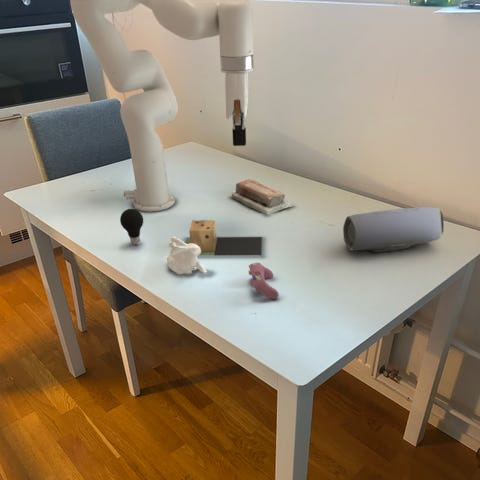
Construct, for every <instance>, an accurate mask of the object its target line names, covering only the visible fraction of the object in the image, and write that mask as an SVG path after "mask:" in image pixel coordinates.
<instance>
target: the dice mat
mask: <svg viewBox="0 0 480 480" xmlns="http://www.w3.org/2000/svg"><path fill="white" fill-rule="evenodd" d="M216 237H217V242H216V248H215V252H201V253H200V254H199V255H197V257H199V256H200V257H204V256H205V257H206V256H207V257H209V256H213V257H214V256H215V257H216V256H217V257H218V256H225V257H226V256H227V257H228V256H262V250H263V249H262V248H263V237H262V236H236V237H235V236H216ZM185 243H186V244H190V243H191V242H190V237H187V238H186V242H185Z"/></svg>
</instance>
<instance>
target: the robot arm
mask: <svg viewBox="0 0 480 480" xmlns="http://www.w3.org/2000/svg"><path fill="white" fill-rule="evenodd" d="M69 4H70V9H71V12H72V15H73V16H72V17H73V18H74V20H75V23H76V24H77V26H78V27H79V29H80V31H81V32H82V34H83V36H84V37H85V38H86V40H87V41H88V43H89V44H90V46H91V48H92V50H93V52H94V54H95V57H96V58H97V60H98V62H99V64H100V66H101V68H102V70H103V73H104V74H105V76H106V78H107V81H108V83H109V85H111V87H112V89H113V90H114V91H116V92H118V93H122V94H123V93H130V92H134V91H137V90H140V89H142V90H143V92H139V93H136V94H132V95H130V96H129V97H126V99H124V101H123V102H122V103H121V106H120V108H119V109H120V111H119V113H120V118H121V122H122V124H123V127H124V130H125V133H126V137H127V140H128V146H129V151H130V158H131V163H132V169H133V176H134V182H135V188H136V189H133V190H129V189H128V190H127V189H126V190H123V196H124V198H125V199H126V200H133V207H134V209H136V210H138V211H142V212H160V211H164V210H167V209H169V208H171V207H173V206H174V205H175V203H176V201H175V197H174V196H173V195H172V194H170V192H169V183H168V176H167V175H168V174H167V168H166V167H167V166H166V158H165V152H164V145H163V144H164V143H163V142H162V139H161V138H160V136H159V134H158V133H157V131H156V129H157V128H158V127H161V126H163V125H166V124H169V123H170V122H172V121H174V120H175V119H176V118H177V116H178V112H179V105H178V101H177V98H176V95H175V93H174V91H173V88H172V86H171V84H170V82H169V79H168V78H167V76H166V73H165V71H164V69H163V67H162V64H161V62H160V61H159V59H158V58H157V57H156V56H155V54H154V53H152V52H151V51H149V50H147V49H135V50H130V49H129V47H128V46H127V44H126V42H125V39H124V37H123V36H122V34H121V32H120V31H119V29H118V28H117V27H116V26H115V25H114V23H112V22H111V21H110V20H108V18H107V17H106V15H109V14H110V15H111V14H117V13H124V12H129V11H132V10H134V9H135V8H137V7H138V6H139V5H140V4H141V5H143V6H145V7H146V8H148V9H150V10H151V12H152V14H153V16H154V17H155V19H156V21H157V23H158V24H159V25H160V26H161V27H163V28H164V29H165V30H167V31H169V32H171V33H172V34H174V35H176V36H178V37H180V38H182V39H184V40H187V41H199V40H202V39H207V38H212V37H213V38H214V37H218V40H219V54H220V55H219V57H220V59H219V60H220V72H221V73H223V74H224V75H225V77H224V81H225V82H224V85H225V88H224V89H225V90H224V92H225V118H226V119H227V120H229V119H230V118H232V129H231V130H232V146H234V147H245V146H246V145H247V129H246V128H247V127H245V126H246V118H247V116H248V115H247V114H248V109H249V108H248V107H249V73H252V72H253V71H254V15H253V14H254V11H253V4H252V2H251V1H249V0H69Z"/></svg>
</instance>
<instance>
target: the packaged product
mask: <svg viewBox="0 0 480 480" xmlns="http://www.w3.org/2000/svg"><path fill="white" fill-rule="evenodd" d="M231 198H232V199H234V200H236V201H238V202H240V203H241V204H243V205H245V206H246V207H248V208H251V209H254V210H256V211H257V212H259V213H262V214H264V215H269V214H270V215H271V214H274V213H276V212H279V211H281V210H284V209H287V208H291V207H292V206H293V202H290V201H288V200H286V199H285V198H286V195H285V194H284V193H283V192H280V191H279V190H276V189H274V188H271V187H269V186H268V185H265V184H263V183H261V182H259V181H257V180H255V179H249V178H248V179H245V180H242V181H239V182H237V183H235V192H232V193H231Z"/></svg>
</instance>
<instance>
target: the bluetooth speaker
mask: <svg viewBox="0 0 480 480" xmlns="http://www.w3.org/2000/svg"><path fill="white" fill-rule="evenodd" d="M444 226H445V225H444V215H443V212H442V211H441V209H440V208H439V207H436V206H420V207H405V208H394V209H393V208H392V209H385V210H378V211H370V212H364V213H356V214H352V215H348V216H346V218H345V220H344V223H343V228H342V233H343V241H344V244H345V246H346V247H347V249H348V250H349V251H361V250H362V251H363V250H369V251H371V252H375V253H380V252H381V253H382V252H391V251H398V250H404V249H405V250H406V249H409V248H410V247H411V246H413V245H414V246H415V245H419V244H424V243H430V242H434V241H438V240H439V239H441V238H442V236H443V233H444Z"/></svg>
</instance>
